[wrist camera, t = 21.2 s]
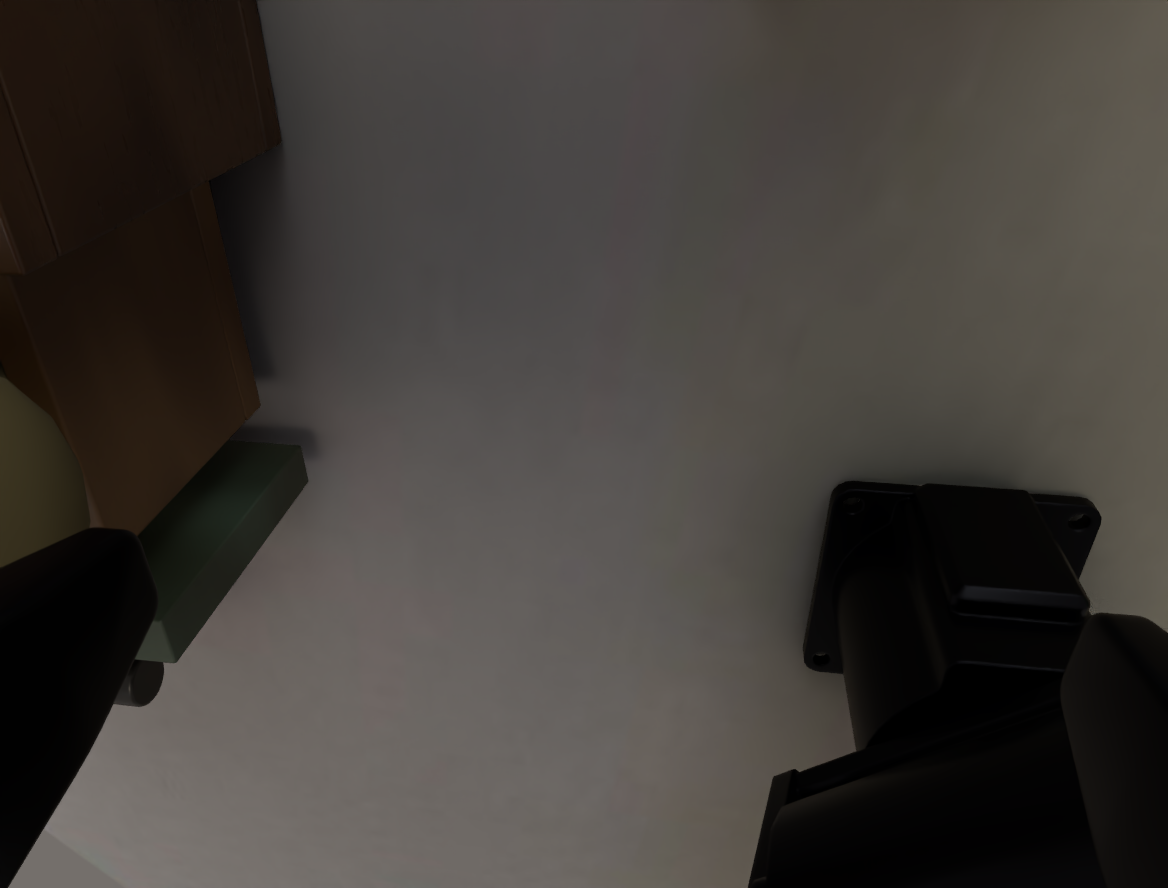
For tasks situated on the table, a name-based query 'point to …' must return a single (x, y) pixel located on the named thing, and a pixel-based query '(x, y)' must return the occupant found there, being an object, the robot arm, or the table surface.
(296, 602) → the table surface
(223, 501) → the drawer
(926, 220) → the table surface
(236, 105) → the cabinet
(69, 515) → the brown rounded piece
